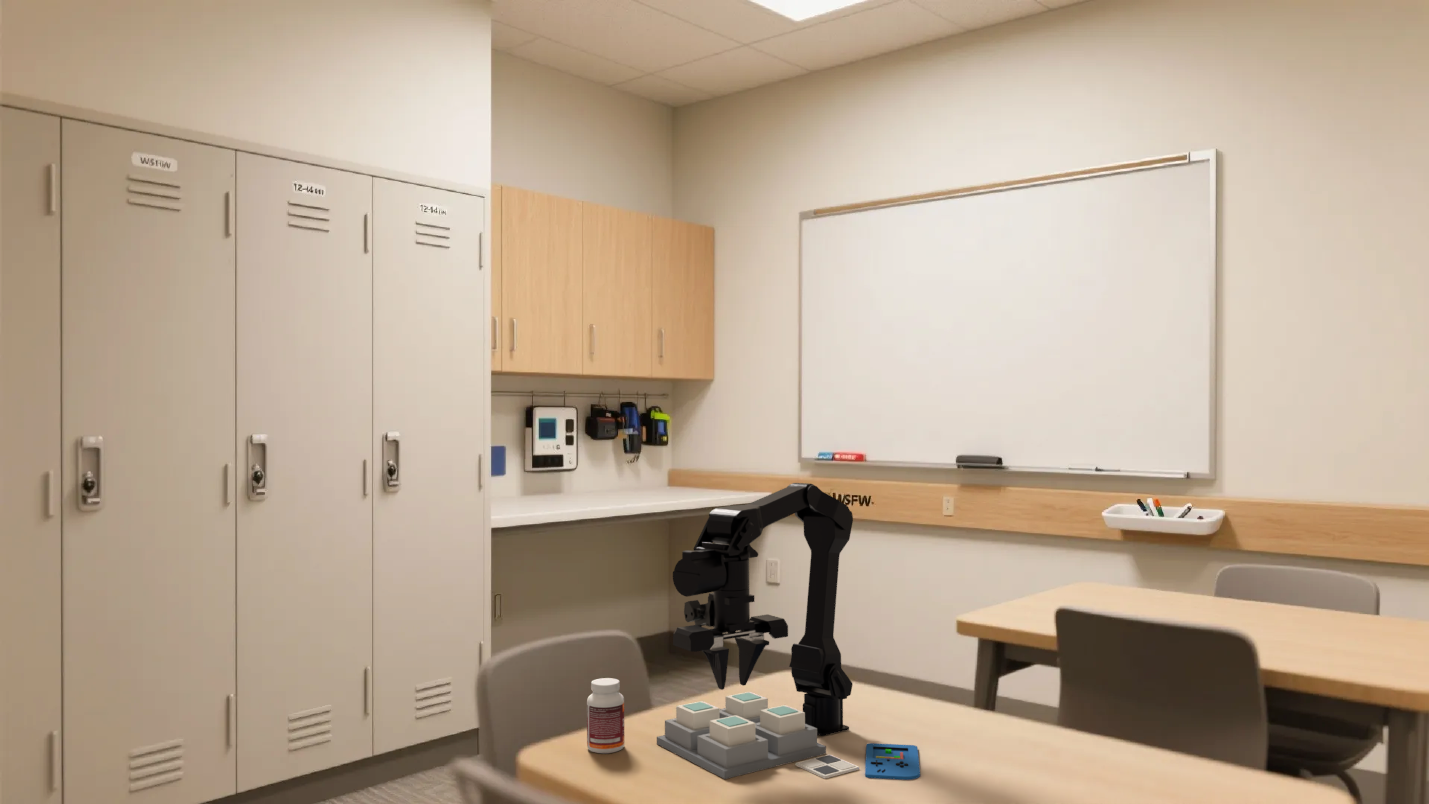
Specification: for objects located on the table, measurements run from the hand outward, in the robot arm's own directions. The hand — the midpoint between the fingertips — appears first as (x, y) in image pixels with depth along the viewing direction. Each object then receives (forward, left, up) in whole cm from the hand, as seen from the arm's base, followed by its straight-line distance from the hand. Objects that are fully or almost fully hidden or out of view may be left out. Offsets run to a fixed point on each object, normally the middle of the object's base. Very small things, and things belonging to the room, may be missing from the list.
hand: (732, 687), depth 159 cm
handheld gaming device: (-21, +14, -13) cm, 28 cm away
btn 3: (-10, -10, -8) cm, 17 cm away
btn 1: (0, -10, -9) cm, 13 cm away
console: (-5, -5, -12) cm, 14 cm away
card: (-11, +10, -12) cm, 19 cm away
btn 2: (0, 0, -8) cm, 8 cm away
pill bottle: (+13, -18, -12) cm, 25 cm away
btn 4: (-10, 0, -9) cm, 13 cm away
